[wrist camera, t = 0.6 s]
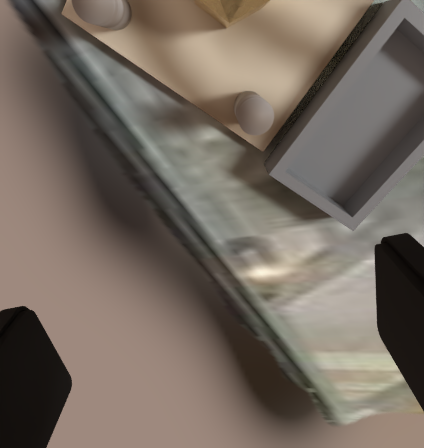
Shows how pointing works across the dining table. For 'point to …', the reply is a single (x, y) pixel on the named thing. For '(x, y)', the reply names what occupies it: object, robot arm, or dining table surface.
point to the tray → (361, 120)
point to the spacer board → (227, 53)
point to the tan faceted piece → (230, 9)
